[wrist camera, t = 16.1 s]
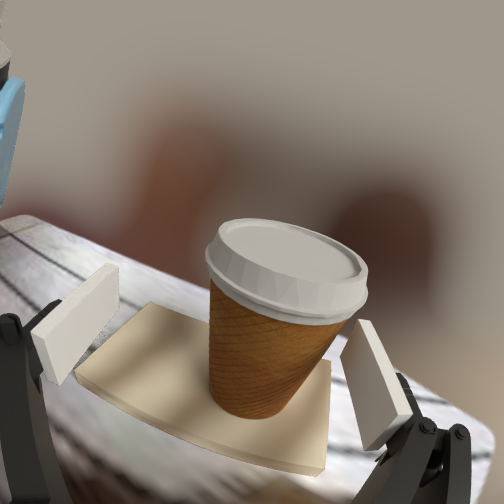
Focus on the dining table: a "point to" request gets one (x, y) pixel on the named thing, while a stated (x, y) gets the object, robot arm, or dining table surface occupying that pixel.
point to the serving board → (203, 394)
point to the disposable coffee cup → (274, 310)
